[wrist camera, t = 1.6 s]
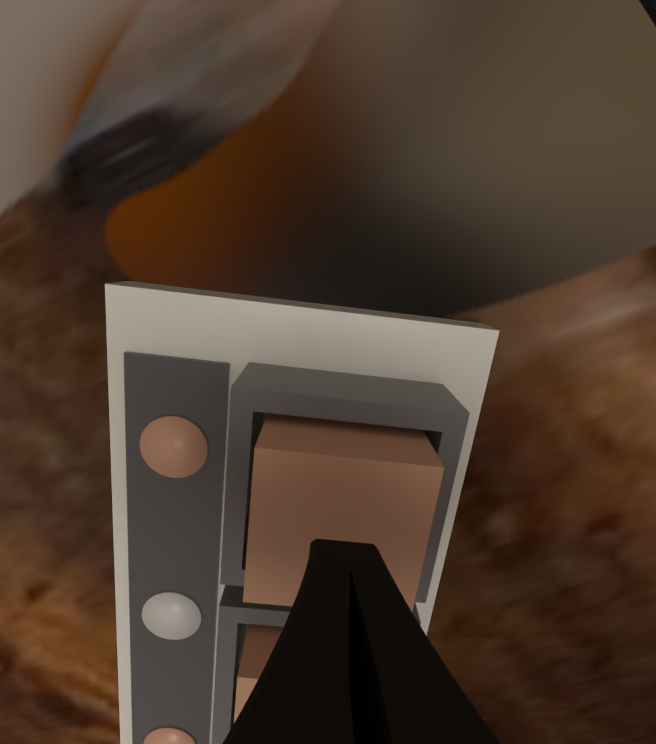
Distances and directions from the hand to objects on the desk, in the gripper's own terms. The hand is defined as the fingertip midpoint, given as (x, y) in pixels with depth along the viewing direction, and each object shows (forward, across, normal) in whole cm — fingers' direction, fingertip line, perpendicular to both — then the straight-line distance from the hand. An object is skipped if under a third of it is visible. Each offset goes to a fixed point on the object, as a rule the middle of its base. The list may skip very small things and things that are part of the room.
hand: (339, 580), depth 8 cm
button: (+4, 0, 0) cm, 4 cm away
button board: (+7, +2, +7) cm, 10 cm away
